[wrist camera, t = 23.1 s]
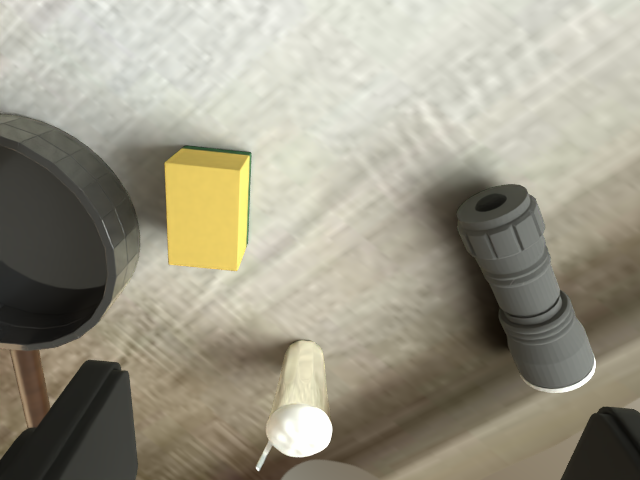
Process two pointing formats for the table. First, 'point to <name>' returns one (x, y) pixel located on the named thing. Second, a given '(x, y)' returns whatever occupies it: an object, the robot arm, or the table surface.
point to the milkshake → (300, 404)
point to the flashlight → (526, 288)
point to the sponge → (207, 207)
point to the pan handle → (31, 385)
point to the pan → (58, 236)
